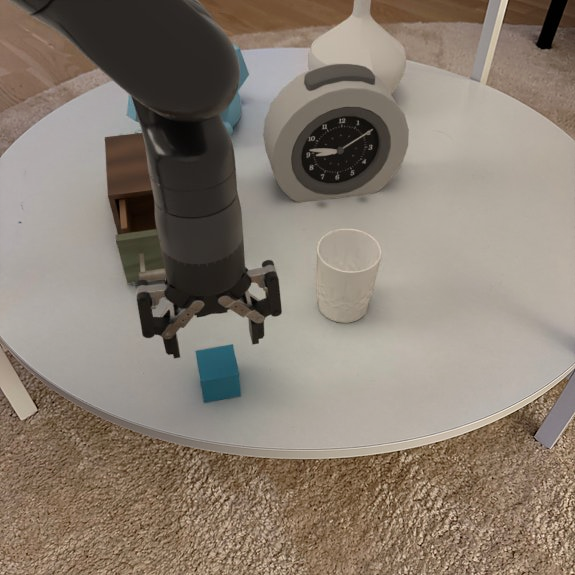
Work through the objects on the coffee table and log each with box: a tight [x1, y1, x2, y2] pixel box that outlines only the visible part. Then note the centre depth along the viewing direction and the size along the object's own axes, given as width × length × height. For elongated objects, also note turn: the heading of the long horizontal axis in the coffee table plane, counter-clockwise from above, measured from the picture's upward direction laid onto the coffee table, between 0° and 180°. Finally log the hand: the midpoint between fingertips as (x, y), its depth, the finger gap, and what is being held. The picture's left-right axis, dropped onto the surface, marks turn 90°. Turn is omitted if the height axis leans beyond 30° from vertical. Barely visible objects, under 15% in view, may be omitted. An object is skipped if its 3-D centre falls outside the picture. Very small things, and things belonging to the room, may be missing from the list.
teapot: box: [126, 43, 250, 137], centre depth 106 cm, size 19×19×14 cm
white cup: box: [316, 228, 383, 324], centre depth 77 cm, size 8×8×10 cm
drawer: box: [115, 194, 166, 285], centre depth 82 cm, size 18×11×8 cm, turn 13°
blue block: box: [194, 343, 242, 404], centre depth 70 cm, size 4×4×4 cm
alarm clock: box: [262, 64, 410, 203], centre depth 92 cm, size 21×8×20 cm, turn 102°
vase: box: [307, 0, 407, 95], centre depth 111 cm, size 18×18×19 cm
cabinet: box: [104, 132, 153, 235], centre depth 90 cm, size 15×13×10 cm
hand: (215, 345), depth 66 cm, fingers open, 8 cm apart
